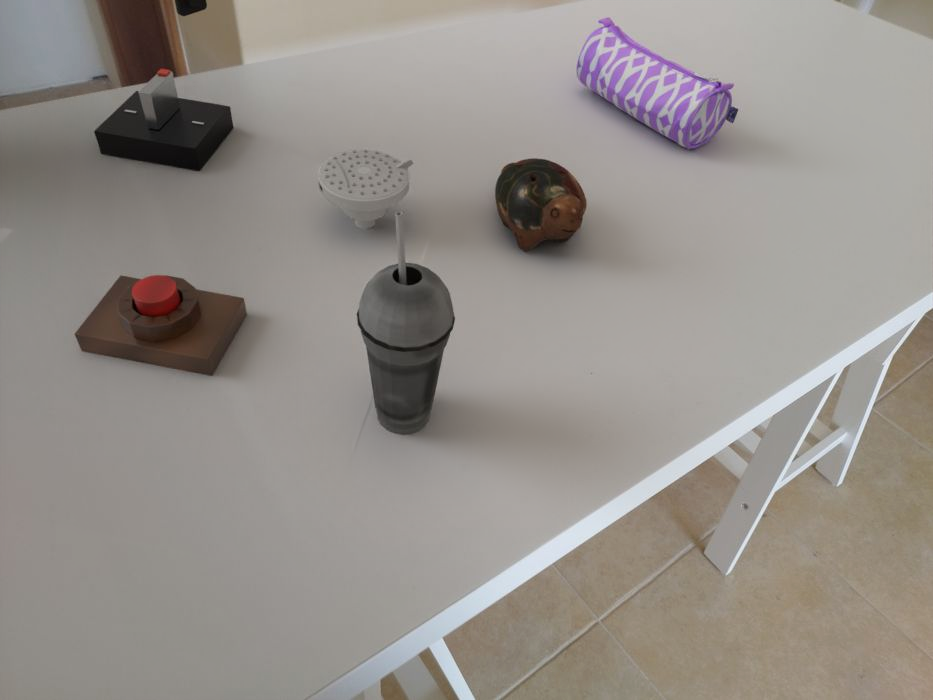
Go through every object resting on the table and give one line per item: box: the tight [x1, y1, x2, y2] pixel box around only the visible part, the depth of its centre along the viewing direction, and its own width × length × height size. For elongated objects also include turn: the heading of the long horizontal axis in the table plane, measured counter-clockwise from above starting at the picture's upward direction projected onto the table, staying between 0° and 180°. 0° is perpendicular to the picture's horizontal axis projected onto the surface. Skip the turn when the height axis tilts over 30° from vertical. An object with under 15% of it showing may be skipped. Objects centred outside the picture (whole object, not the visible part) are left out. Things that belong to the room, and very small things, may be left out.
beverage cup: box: [356, 211, 456, 435], centre depth 56 cm, size 7×7×20 cm
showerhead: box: [317, 149, 414, 230], centre depth 78 cm, size 9×7×10 cm
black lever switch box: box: [93, 90, 235, 172], centre depth 87 cm, size 12×10×3 cm
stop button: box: [132, 274, 180, 317], centre depth 64 cm, size 4×4×2 cm
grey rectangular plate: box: [138, 68, 180, 130], centre depth 85 cm, size 6×1×5 cm, turn 170°
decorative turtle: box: [494, 158, 588, 252], centre depth 80 cm, size 10×15×8 cm, turn 27°
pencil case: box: [576, 16, 739, 150], centre depth 99 cm, size 22×9×10 cm, turn 42°
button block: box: [74, 275, 248, 377], centre depth 66 cm, size 12×8×4 cm, turn 80°
